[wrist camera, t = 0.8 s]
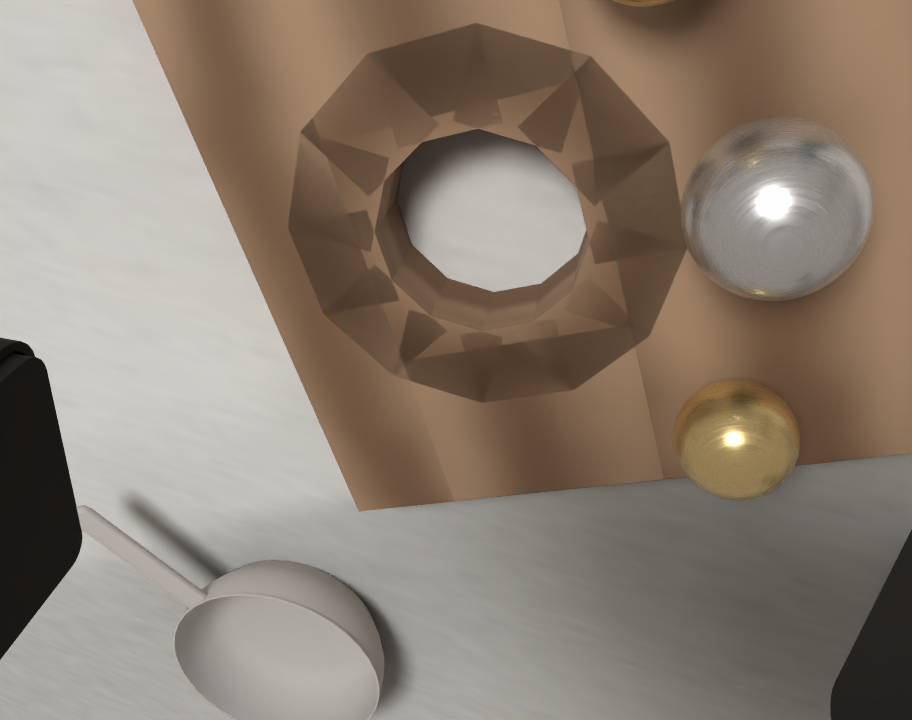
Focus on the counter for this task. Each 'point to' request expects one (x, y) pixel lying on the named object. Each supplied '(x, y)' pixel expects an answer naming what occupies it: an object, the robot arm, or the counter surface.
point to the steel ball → (777, 208)
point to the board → (604, 209)
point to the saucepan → (266, 636)
